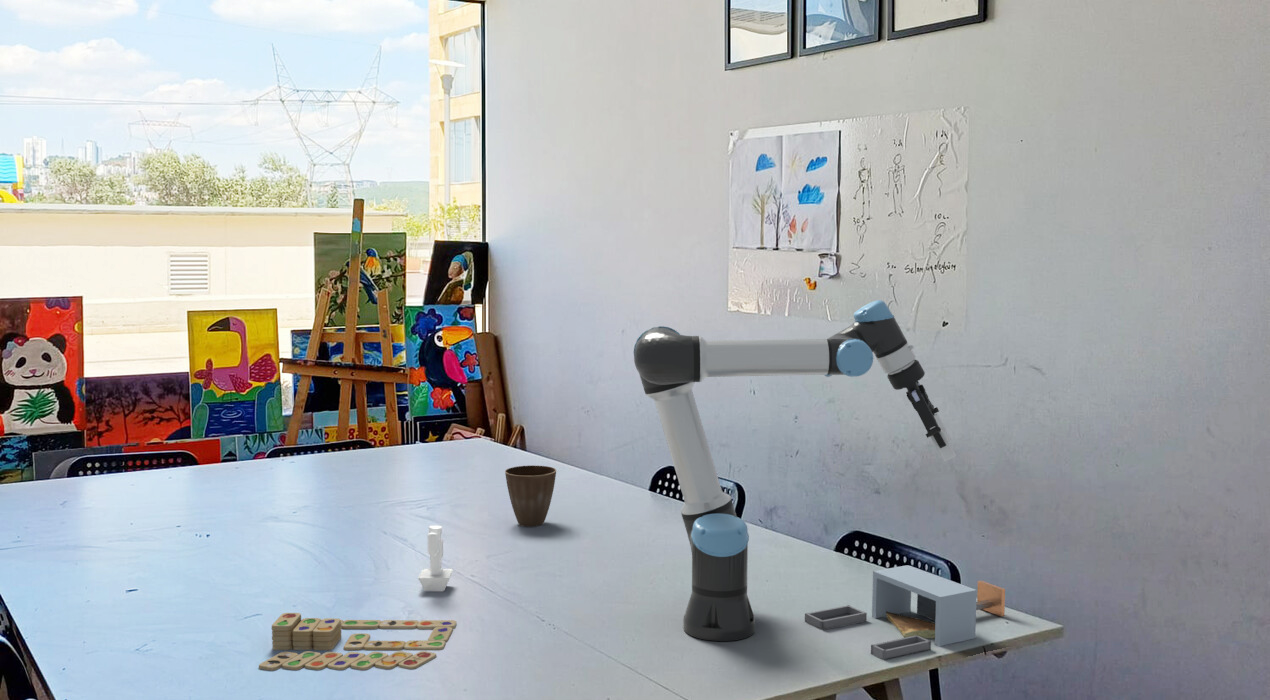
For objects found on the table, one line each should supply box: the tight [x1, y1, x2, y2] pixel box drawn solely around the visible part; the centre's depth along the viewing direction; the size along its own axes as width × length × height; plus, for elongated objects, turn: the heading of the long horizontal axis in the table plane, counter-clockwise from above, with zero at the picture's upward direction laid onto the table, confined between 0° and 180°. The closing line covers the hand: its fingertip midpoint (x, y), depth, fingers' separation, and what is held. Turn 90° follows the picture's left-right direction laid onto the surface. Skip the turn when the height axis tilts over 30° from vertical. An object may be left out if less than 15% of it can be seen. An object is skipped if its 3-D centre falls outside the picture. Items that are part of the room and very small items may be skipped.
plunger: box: [916, 580, 1006, 622], centre depth 237 cm, size 16×14×6 cm
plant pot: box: [504, 464, 557, 528], centre depth 318 cm, size 15×15×16 cm
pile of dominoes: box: [258, 612, 457, 672], centre depth 219 cm, size 35×27×6 cm
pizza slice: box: [886, 612, 935, 639], centre depth 231 cm, size 13×9×2 cm
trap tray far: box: [804, 604, 868, 631], centre depth 235 cm, size 12×6×2 cm, turn 118°
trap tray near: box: [870, 635, 932, 661], centre depth 217 cm, size 12×4×2 cm, turn 118°
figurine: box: [417, 525, 454, 592], centre depth 256 cm, size 7×9×15 cm
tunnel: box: [871, 565, 978, 647], centre depth 231 cm, size 10×20×10 cm, turn 28°
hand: (947, 449), depth 239 cm, fingers open, 13 cm apart
